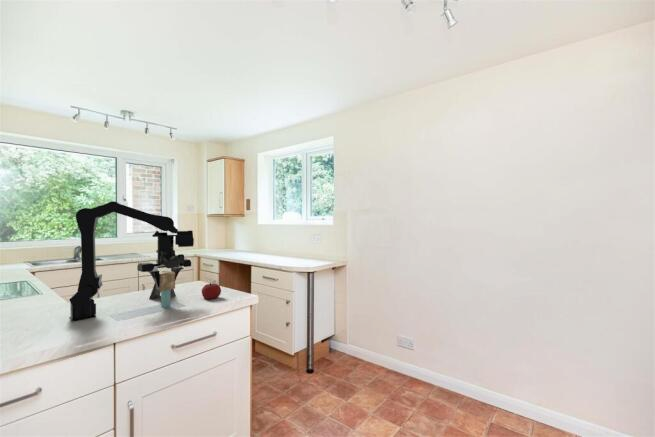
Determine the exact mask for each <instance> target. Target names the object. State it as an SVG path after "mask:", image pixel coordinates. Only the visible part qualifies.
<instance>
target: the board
mask: <svg viewBox="0 0 655 437" xmlns="http://www.w3.org/2000/svg"><path fill="white" fill-rule="evenodd" d="M182 307H187V305H186V304H183V303H181V302H179V301H170V307H166V308H163V307H161V303H159V304H156V305H151V306H146V307H145V306H144V307H140V308H136V309H132V310H131V309H130V310H126V311H122V312H116V313H112V314H109V317H111V318H113V320H114V321H117V322H119V321H120V322H121V321H123V320H124V321H125V320H129V319H133V318H134V319H135V318H137V317H143V316H147V315H151V314H156V313H160V312H164V311H169V310H174V309H177V308H178V309H179V308H182Z"/></svg>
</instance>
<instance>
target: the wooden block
mask: <svg viewBox="0 0 655 437" xmlns="http://www.w3.org/2000/svg"><path fill="white" fill-rule="evenodd" d="M163 271H164V272H162V271H160V272H159V288H158V287H157V286H156V289H158V290H160V291H164V290H170V289H174V290H175V289H176V280H175V272H172V271H171V270H163Z"/></svg>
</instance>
